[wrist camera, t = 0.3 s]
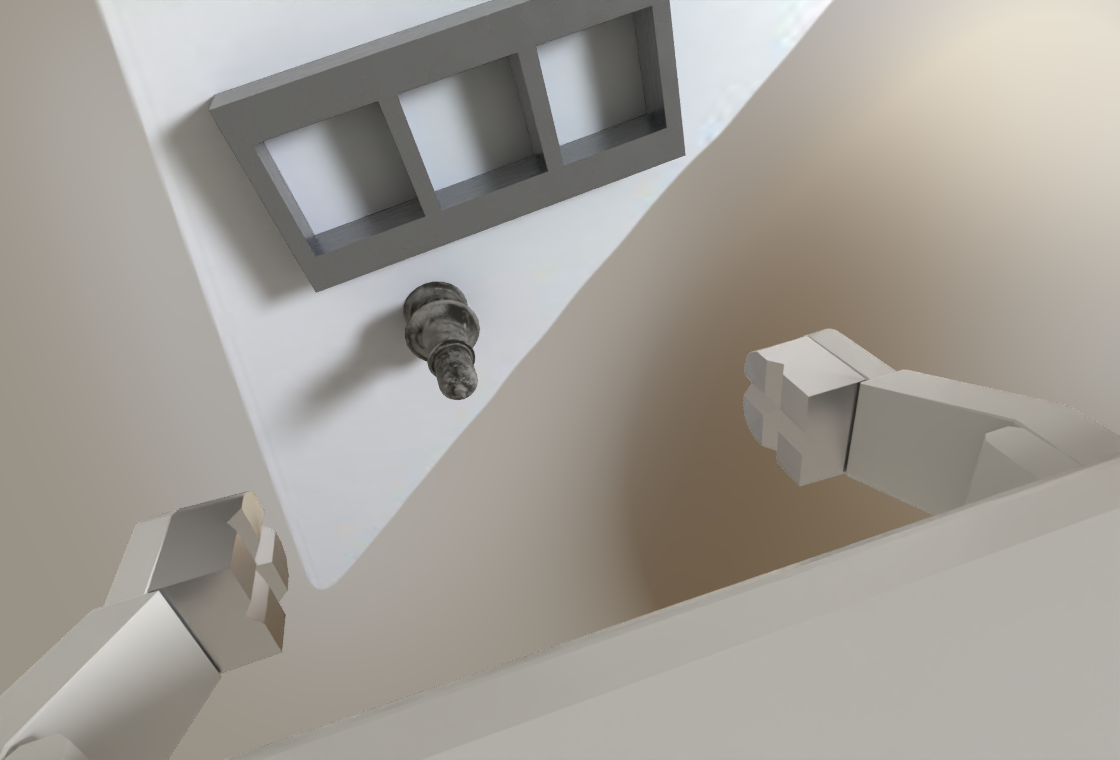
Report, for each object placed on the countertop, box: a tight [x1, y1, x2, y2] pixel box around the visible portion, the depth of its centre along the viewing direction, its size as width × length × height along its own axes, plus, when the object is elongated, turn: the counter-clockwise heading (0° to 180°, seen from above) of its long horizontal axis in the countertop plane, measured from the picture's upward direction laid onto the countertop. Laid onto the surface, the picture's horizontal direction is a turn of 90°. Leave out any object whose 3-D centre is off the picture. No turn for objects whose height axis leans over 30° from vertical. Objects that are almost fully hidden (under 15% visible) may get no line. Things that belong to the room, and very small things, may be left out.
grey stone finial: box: [404, 282, 480, 400], centre depth 49 cm, size 6×6×12 cm
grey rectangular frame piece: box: [209, 0, 685, 292], centre depth 44 cm, size 13×29×4 cm, turn 104°
